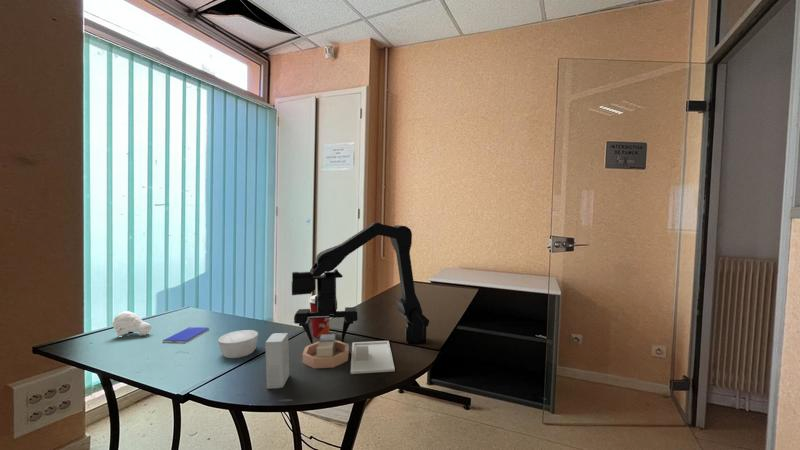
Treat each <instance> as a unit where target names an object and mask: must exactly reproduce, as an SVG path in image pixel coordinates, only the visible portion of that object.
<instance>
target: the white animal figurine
mask: <svg viewBox="0 0 800 450" xmlns="http://www.w3.org/2000/svg"><path fill="white" fill-rule="evenodd" d="M111 325H112V328H113V329H114V330H115V333H116V335H117V337H118V336H122V337H123V336H124V334H128V333H127V332H133V333H135V332H136V333H138V334H137V335H139V336H140V337H141V336H147V335H148V334H149V333H150V332H151V330H152V324H150V323H148V322H145V321H143V319H142V318H141V317H140V316H139V315H137V314H136V313H134V312H132V311H128V310H126V311H120V313H118V314H116V315H115V317H114V319H113V321H112V323H111ZM146 334H147V335H146Z"/></svg>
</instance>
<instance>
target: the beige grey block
mask: <svg viewBox="0 0 800 450" xmlns="http://www.w3.org/2000/svg"><path fill="white" fill-rule="evenodd" d="M361 360H369V357H368V346H356V361H361Z"/></svg>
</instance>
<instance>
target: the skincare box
mask: <svg viewBox="0 0 800 450" xmlns="http://www.w3.org/2000/svg"><path fill="white" fill-rule="evenodd" d="M264 345H265V370H266V371H265V373H266V374H265V376H266V377H265V378H266V389H268V390H269V389H271V390H272V389H282V388H284V387H285V384H286V382H287V380H288V379H289V377H290V362H289V361H290V360H289V355H290V354H289V333H288V332H282V333H281V332H280V333H279V332H278V333H276V332H275V333H271V334H270V336H269V337H268V339H266V341H265V343H264Z"/></svg>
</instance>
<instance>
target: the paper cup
mask: <svg viewBox="0 0 800 450" xmlns="http://www.w3.org/2000/svg"><path fill="white" fill-rule="evenodd" d="M315 296H317V294H315V295H314V294H313V295H311V296H310V297H309V301H308V302H309V305H310V306H309V309H310V312H317V306H315ZM330 319H331V318H315V319H312V332H313V338H320V336H321V335H327V334H330Z"/></svg>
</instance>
